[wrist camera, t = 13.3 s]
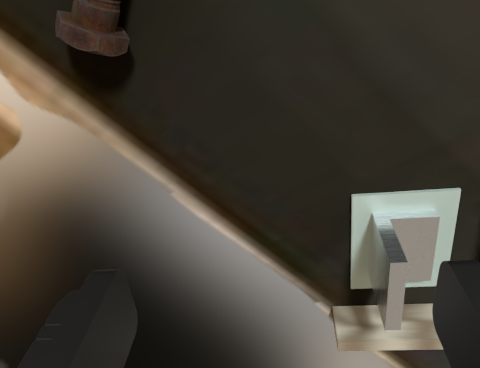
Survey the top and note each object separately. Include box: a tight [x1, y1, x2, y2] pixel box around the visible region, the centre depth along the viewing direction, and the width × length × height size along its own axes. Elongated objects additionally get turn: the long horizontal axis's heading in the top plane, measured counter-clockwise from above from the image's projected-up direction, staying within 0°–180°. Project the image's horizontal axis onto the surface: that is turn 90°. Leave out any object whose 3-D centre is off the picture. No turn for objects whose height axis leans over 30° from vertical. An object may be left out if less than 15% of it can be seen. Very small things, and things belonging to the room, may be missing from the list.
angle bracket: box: [369, 210, 440, 330], centre depth 39 cm, size 8×6×8 cm
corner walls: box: [332, 304, 443, 351], centre depth 40 cm, size 17×18×5 cm
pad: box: [350, 188, 461, 289], centre depth 42 cm, size 10×12×1 cm
